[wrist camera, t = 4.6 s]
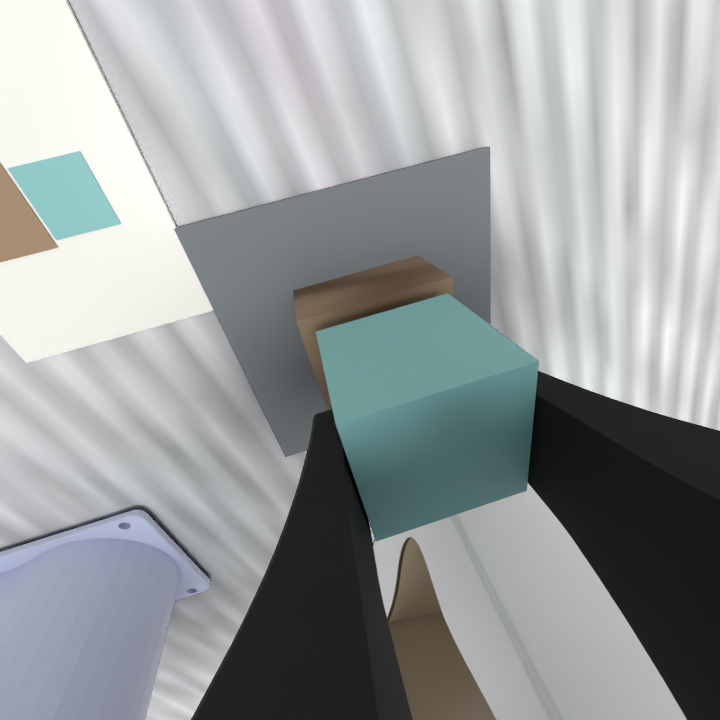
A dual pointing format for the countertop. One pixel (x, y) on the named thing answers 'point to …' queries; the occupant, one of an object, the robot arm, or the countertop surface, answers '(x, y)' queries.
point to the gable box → (511, 622)
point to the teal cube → (429, 411)
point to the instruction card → (76, 199)
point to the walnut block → (363, 301)
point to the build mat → (335, 265)
